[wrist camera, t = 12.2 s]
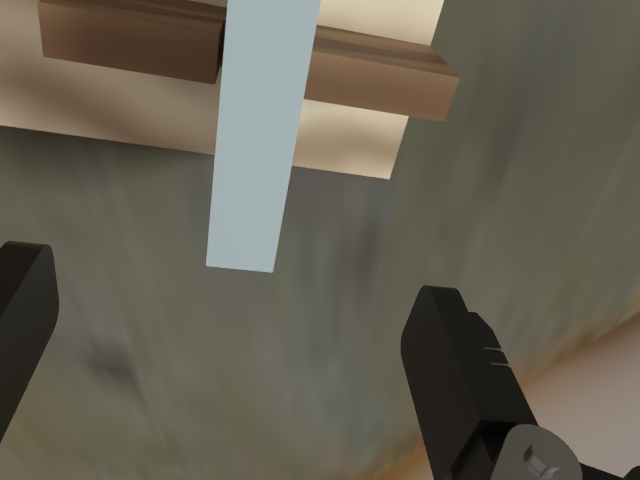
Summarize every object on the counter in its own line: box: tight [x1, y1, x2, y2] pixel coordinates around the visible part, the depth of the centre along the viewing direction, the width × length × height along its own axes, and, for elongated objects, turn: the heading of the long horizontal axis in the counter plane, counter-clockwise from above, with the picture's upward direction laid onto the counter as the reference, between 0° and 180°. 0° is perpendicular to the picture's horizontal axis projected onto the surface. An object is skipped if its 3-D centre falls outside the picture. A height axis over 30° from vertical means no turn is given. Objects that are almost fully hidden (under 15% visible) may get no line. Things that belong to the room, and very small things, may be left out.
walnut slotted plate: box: [37, 0, 460, 122], centre depth 27 cm, size 2×20×6 cm, turn 79°
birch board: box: [0, 0, 444, 179], centre depth 29 cm, size 16×32×1 cm, turn 79°
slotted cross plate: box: [206, 0, 321, 272], centre depth 24 cm, size 14×3×13 cm, turn 169°
